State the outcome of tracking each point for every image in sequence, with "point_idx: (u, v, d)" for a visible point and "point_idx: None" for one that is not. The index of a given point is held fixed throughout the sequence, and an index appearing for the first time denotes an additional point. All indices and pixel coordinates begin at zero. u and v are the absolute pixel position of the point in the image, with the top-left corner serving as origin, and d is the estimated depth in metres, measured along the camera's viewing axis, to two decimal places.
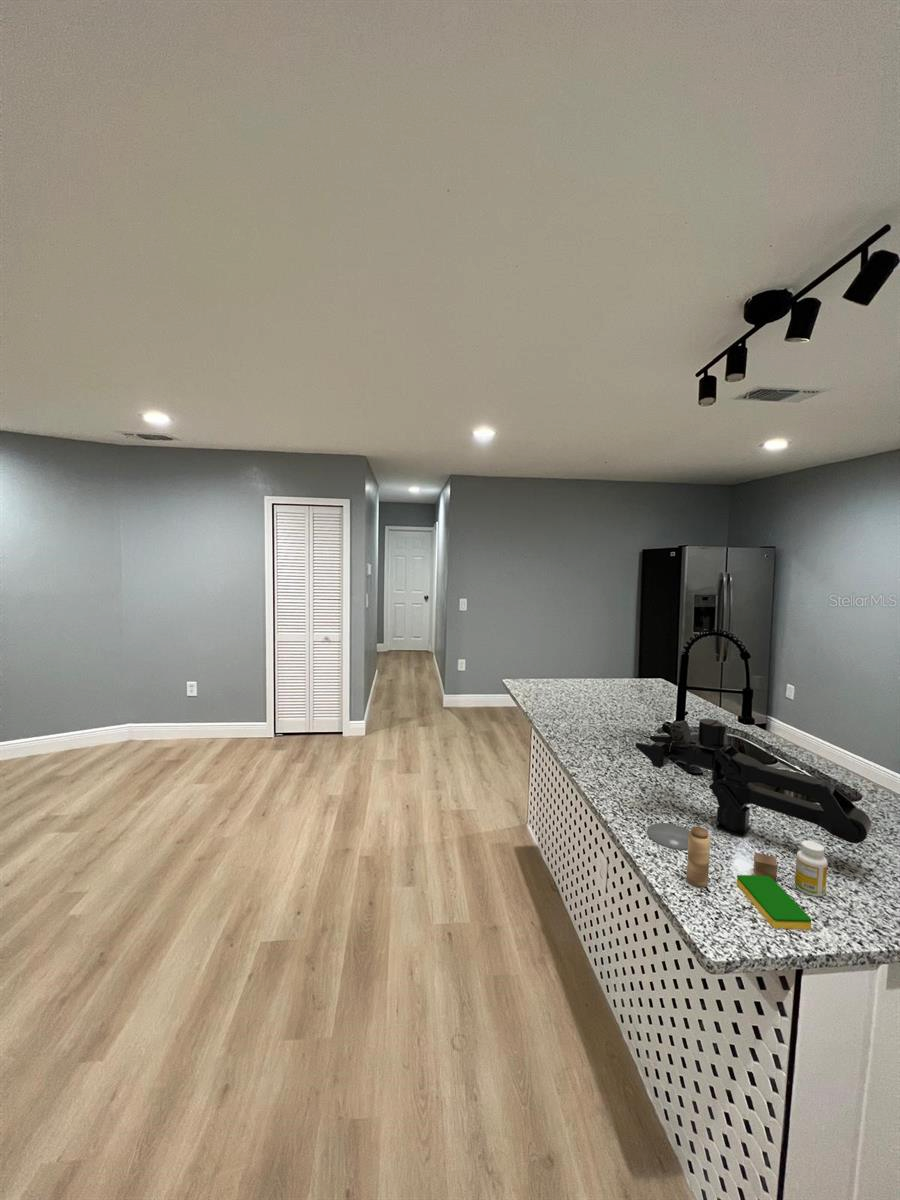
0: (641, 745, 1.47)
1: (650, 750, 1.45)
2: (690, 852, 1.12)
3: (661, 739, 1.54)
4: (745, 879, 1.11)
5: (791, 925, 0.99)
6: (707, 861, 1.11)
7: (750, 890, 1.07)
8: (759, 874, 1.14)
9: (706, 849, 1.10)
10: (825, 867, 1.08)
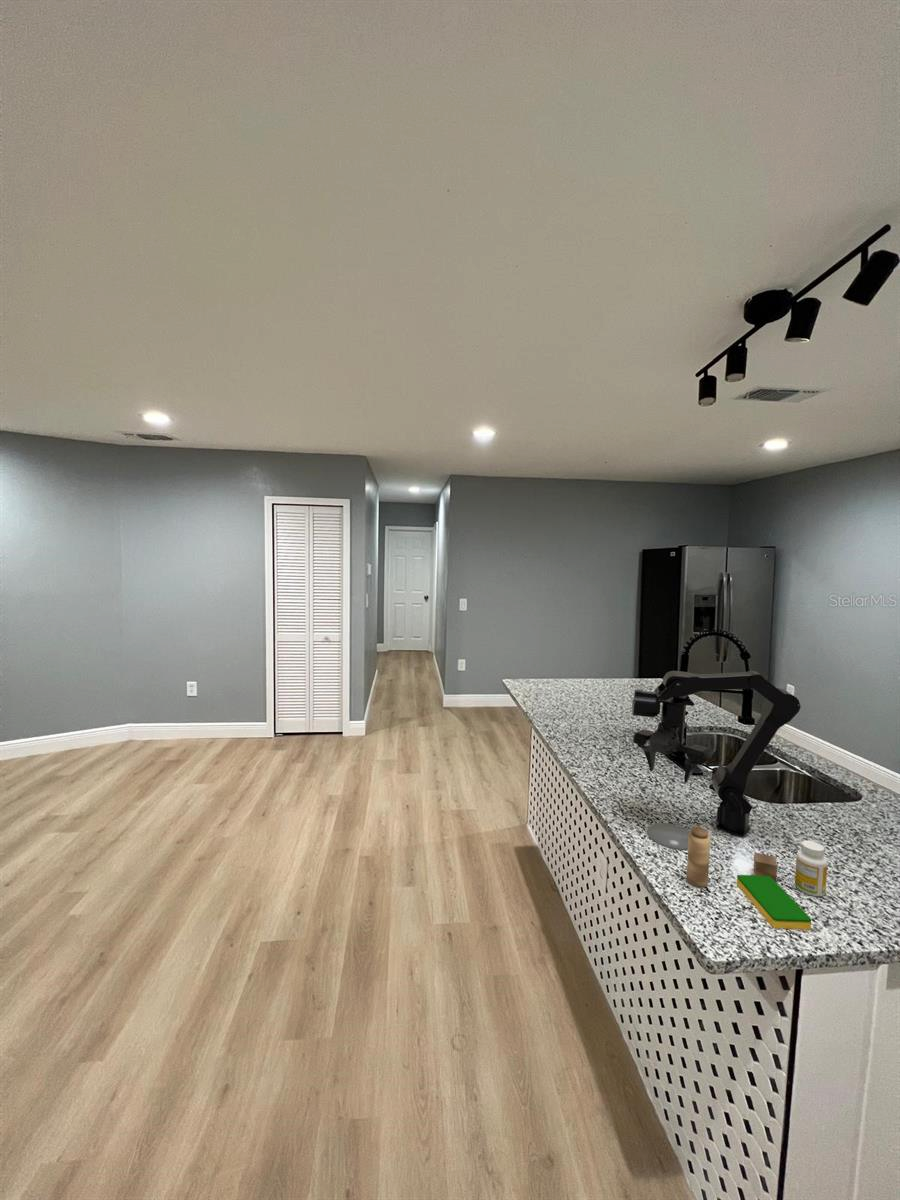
0: (688, 776, 1.34)
1: None
2: (690, 852, 1.12)
3: (651, 759, 1.42)
4: (745, 879, 1.11)
5: (791, 925, 0.99)
6: (707, 861, 1.11)
7: (750, 890, 1.07)
8: (759, 874, 1.14)
9: (706, 849, 1.10)
10: (825, 867, 1.08)
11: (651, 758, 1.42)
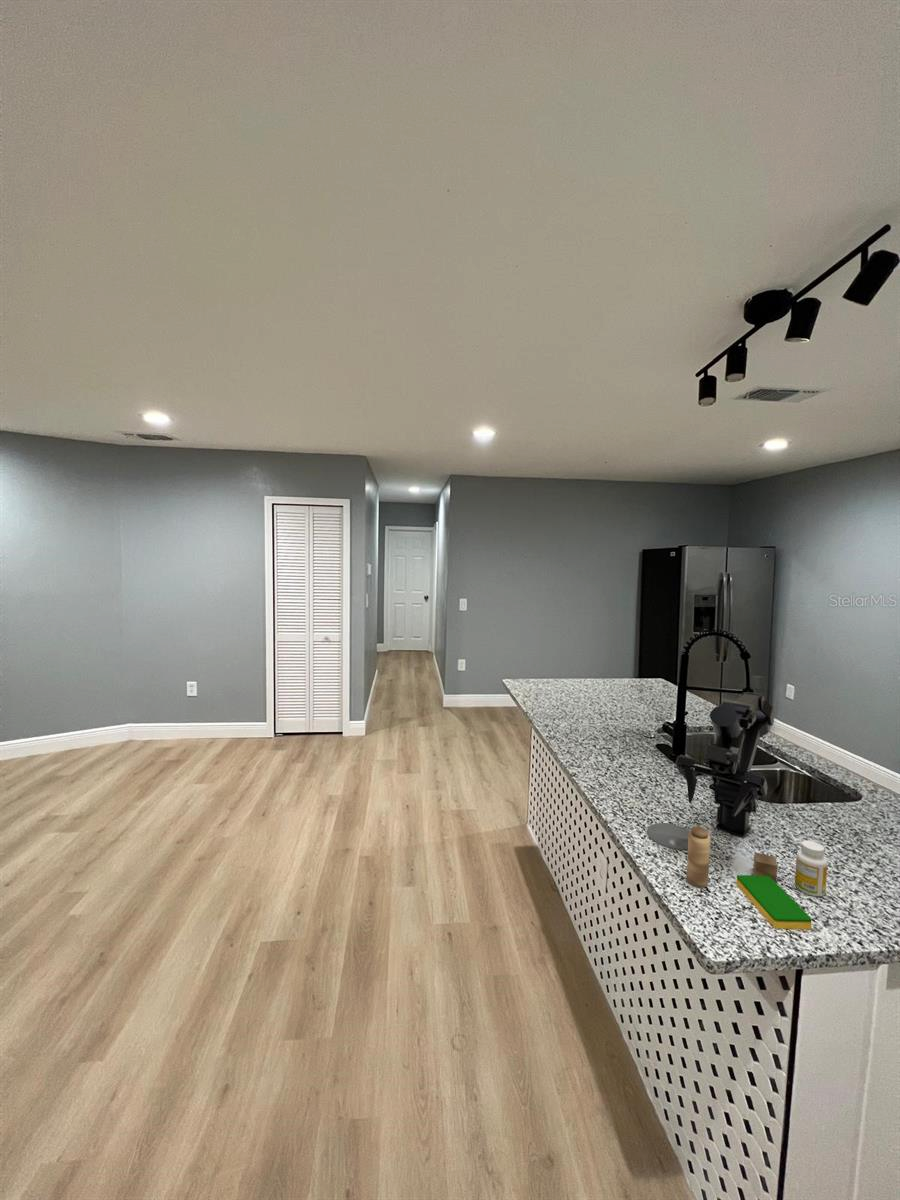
0: (739, 806, 1.15)
1: None
2: (690, 852, 1.12)
3: None
4: (745, 879, 1.11)
5: (791, 925, 0.99)
6: (707, 861, 1.11)
7: (750, 890, 1.07)
8: (759, 874, 1.14)
9: (706, 849, 1.10)
10: (825, 867, 1.08)
11: (692, 786, 1.22)
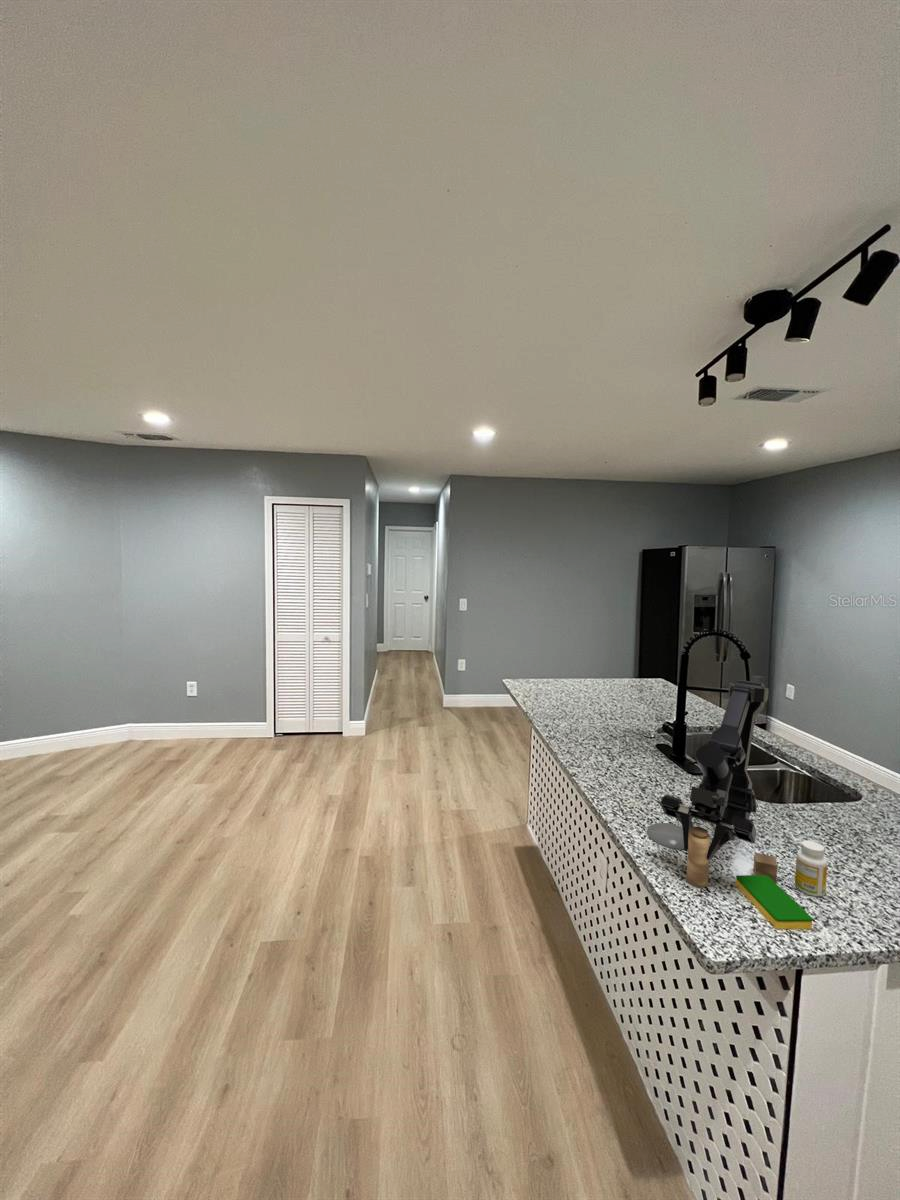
0: (714, 849, 1.10)
1: None
2: (690, 852, 1.12)
3: None
4: (744, 879, 1.10)
5: (793, 925, 0.99)
6: (707, 861, 1.11)
7: (750, 890, 1.07)
8: (759, 874, 1.14)
9: (706, 849, 1.10)
10: (825, 867, 1.08)
11: (688, 833, 1.14)
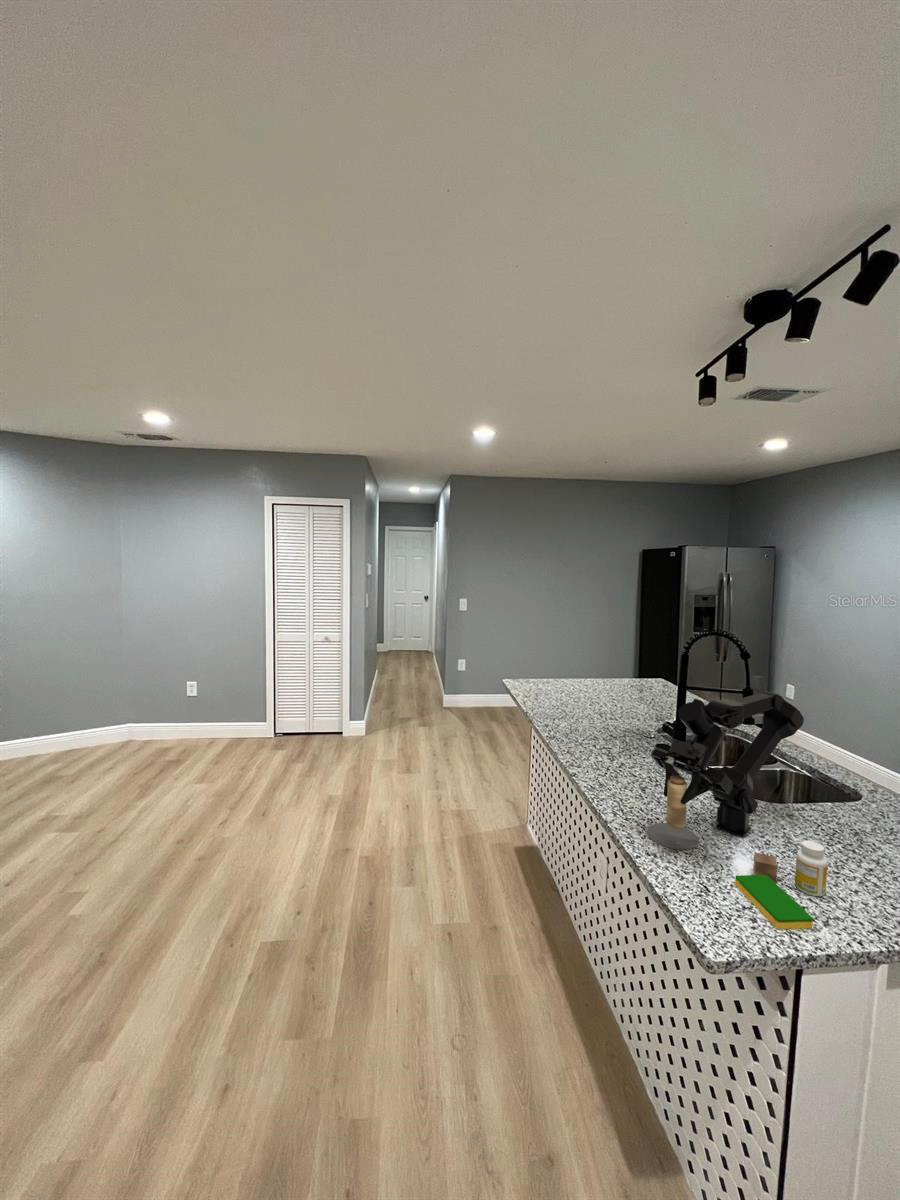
0: (688, 795, 1.21)
1: (696, 787, 1.22)
2: (667, 796, 1.24)
3: None
4: (744, 879, 1.10)
5: (794, 925, 0.99)
6: (682, 806, 1.22)
7: (750, 891, 1.07)
8: (759, 874, 1.14)
9: (681, 794, 1.21)
10: (825, 867, 1.08)
11: None
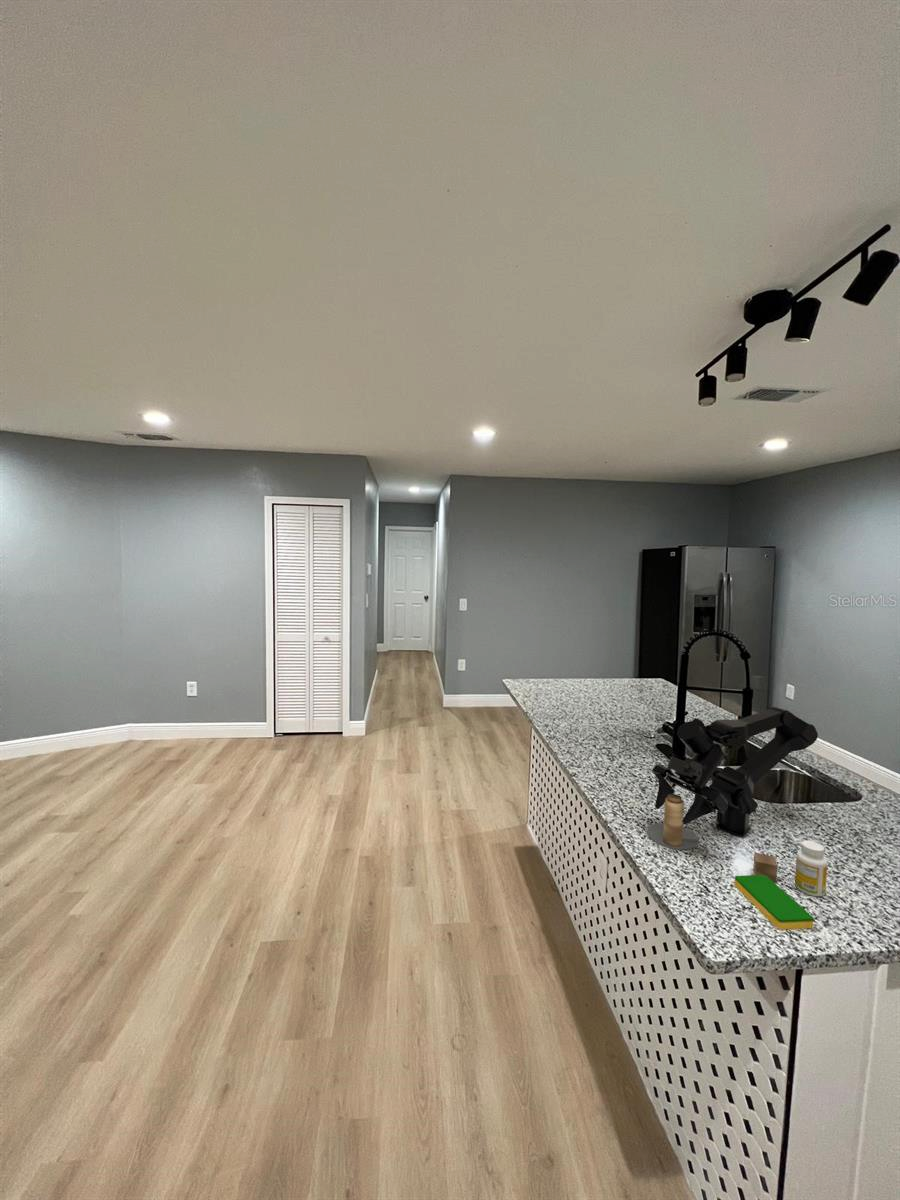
0: (690, 816, 1.22)
1: (698, 808, 1.23)
2: (664, 814, 1.28)
3: (662, 796, 1.31)
4: (743, 880, 1.10)
5: (795, 925, 0.99)
6: (678, 824, 1.25)
7: (750, 891, 1.07)
8: (759, 874, 1.14)
9: (677, 812, 1.25)
10: (825, 867, 1.08)
11: (662, 794, 1.31)
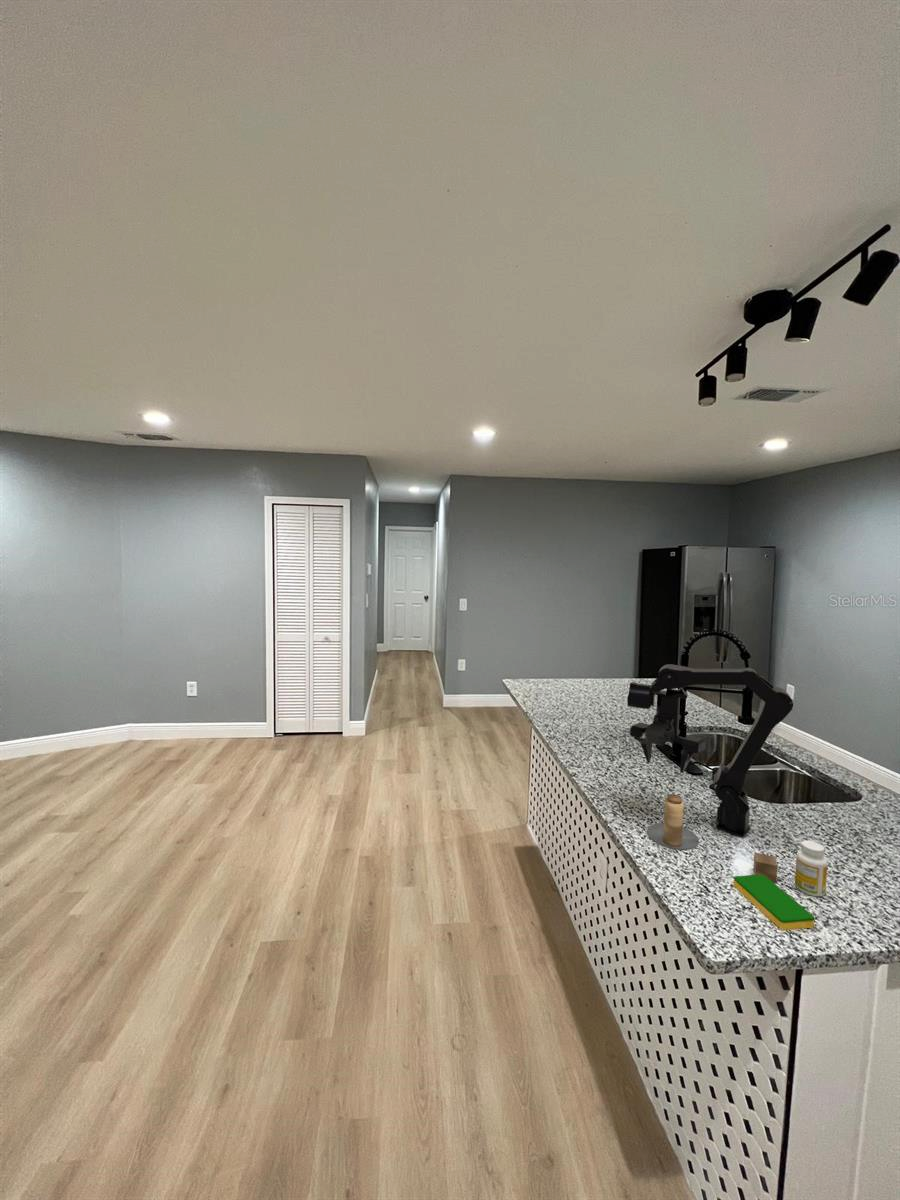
0: (684, 766, 1.38)
1: None
2: (664, 814, 1.27)
3: (648, 751, 1.45)
4: (742, 880, 1.10)
5: (796, 925, 0.99)
6: (678, 824, 1.25)
7: (750, 892, 1.07)
8: (759, 874, 1.14)
9: (677, 813, 1.25)
10: (825, 867, 1.08)
11: (648, 750, 1.45)
